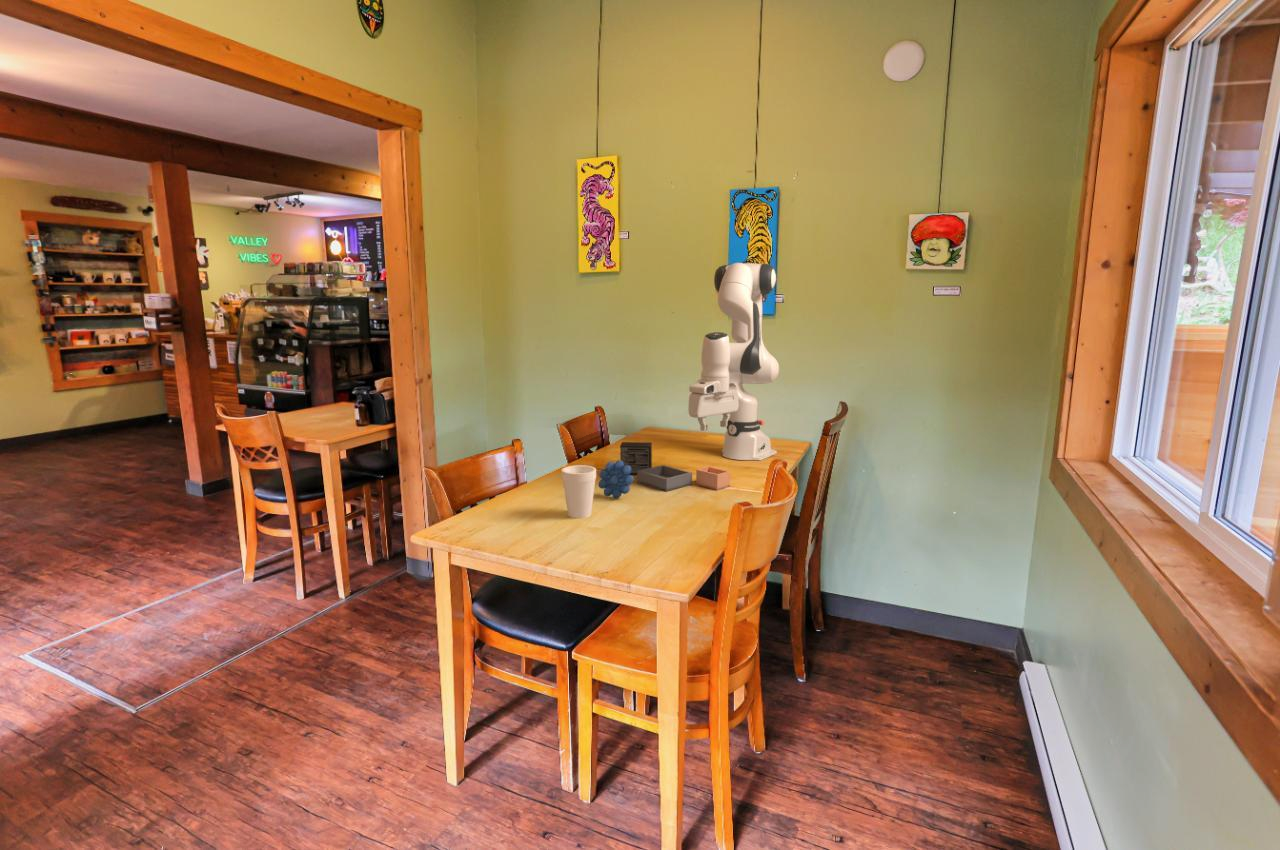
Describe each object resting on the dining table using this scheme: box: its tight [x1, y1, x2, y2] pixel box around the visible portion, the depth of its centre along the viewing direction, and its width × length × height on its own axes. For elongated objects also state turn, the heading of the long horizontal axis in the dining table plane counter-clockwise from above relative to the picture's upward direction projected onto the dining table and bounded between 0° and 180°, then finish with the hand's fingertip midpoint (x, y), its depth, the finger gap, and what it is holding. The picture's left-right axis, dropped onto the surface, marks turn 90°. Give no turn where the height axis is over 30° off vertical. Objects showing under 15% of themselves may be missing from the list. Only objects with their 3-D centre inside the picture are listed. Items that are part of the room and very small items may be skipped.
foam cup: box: [561, 464, 597, 519], centre depth 177 cm, size 10×9×13 cm
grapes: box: [598, 459, 635, 499], centre depth 193 cm, size 12×7×12 cm, turn 66°
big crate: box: [636, 464, 693, 493], centre depth 208 cm, size 12×14×4 cm
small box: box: [619, 441, 653, 476], centre depth 220 cm, size 11×6×10 cm, turn 84°
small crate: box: [695, 465, 731, 491], centre depth 206 cm, size 6×9×5 cm, turn 42°
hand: (713, 428), depth 203 cm, fingers open, 8 cm apart
